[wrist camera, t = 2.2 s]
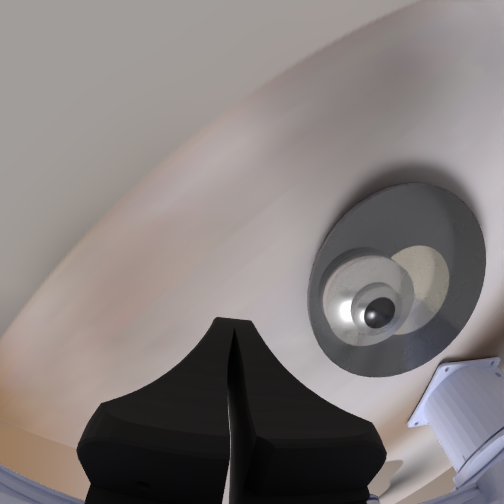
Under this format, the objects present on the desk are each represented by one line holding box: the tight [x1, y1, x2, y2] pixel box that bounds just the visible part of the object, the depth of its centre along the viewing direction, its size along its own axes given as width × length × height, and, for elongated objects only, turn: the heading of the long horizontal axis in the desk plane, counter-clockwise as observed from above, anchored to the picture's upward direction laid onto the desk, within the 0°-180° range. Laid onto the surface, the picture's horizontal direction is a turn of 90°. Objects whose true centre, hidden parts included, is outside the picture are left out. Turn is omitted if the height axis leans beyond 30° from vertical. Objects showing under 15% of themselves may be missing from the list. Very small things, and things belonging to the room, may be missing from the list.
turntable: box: [307, 183, 486, 377], centre depth 19 cm, size 14×14×2 cm
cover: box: [318, 247, 414, 346], centre depth 17 cm, size 5×5×3 cm
